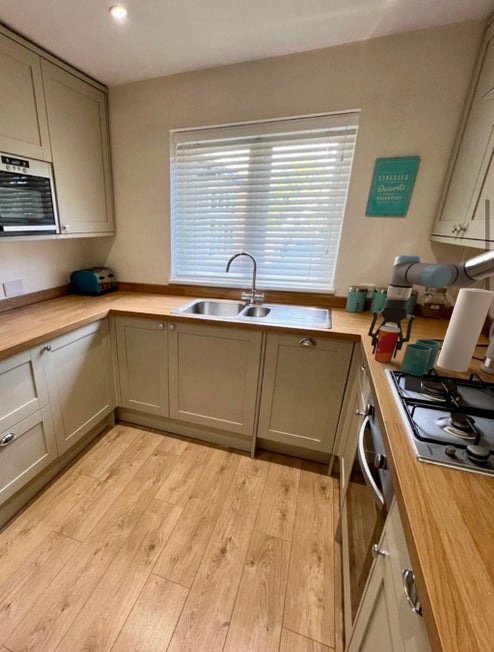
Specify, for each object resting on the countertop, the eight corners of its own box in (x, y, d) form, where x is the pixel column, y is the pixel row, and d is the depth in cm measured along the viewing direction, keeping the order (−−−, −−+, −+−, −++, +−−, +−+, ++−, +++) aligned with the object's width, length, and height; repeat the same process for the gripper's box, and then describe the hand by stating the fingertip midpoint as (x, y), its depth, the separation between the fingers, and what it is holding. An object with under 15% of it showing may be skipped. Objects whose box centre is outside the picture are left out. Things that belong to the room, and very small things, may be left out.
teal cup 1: (423, 371, 122) (431, 346, 119) (424, 378, 116) (432, 352, 113) (400, 367, 126) (406, 342, 122) (399, 373, 120) (406, 347, 117)
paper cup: (376, 355, 137) (383, 322, 133) (396, 360, 132) (405, 326, 127) (368, 359, 133) (375, 325, 128) (389, 365, 127) (397, 330, 122)
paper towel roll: (471, 369, 126) (499, 290, 115) (460, 373, 121) (488, 292, 111) (443, 360, 133) (467, 286, 123) (432, 365, 129) (455, 287, 118)
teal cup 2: (432, 366, 128) (439, 341, 124) (433, 372, 122) (441, 346, 118) (409, 361, 132) (416, 337, 128) (409, 367, 126) (416, 342, 122)
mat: (446, 385, 111) (447, 384, 111) (449, 399, 102) (450, 398, 102) (404, 376, 117) (405, 375, 117) (404, 389, 108) (404, 388, 108)
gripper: (367, 296, 126) (355, 353, 134) (429, 303, 116) (412, 363, 124) (369, 293, 132) (357, 348, 140) (429, 299, 122) (412, 357, 130)
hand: (383, 355), depth 132 cm, fingers closed on paper cup, 7 cm apart
